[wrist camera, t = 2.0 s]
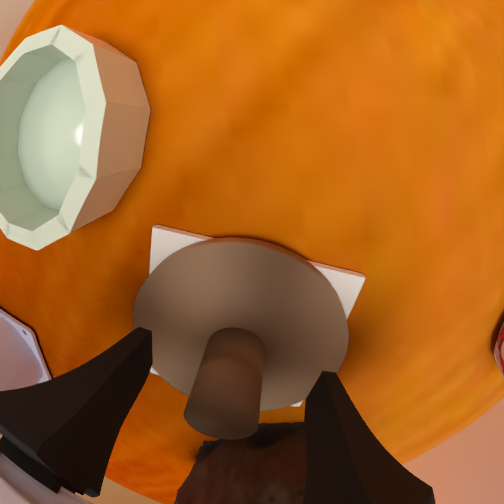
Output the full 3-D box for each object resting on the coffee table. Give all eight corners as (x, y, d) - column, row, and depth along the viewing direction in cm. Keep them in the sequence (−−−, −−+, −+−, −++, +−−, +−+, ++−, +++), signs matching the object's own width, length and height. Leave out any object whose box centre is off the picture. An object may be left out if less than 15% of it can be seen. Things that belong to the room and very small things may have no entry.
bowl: (17, 208, 12) (-21, 225, 9) (32, 58, 8) (-8, 53, 5) (134, 240, 12) (95, 272, 9) (169, 37, 8) (133, 8, 5)
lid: (143, 374, 14) (112, 435, 10) (143, 213, 11) (69, 260, 6) (304, 412, 14) (305, 479, 10) (379, 269, 11) (427, 344, 6)
